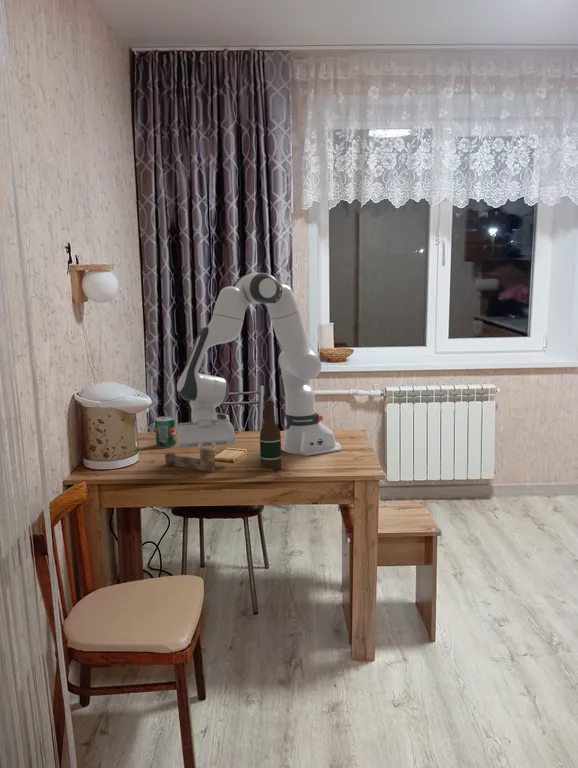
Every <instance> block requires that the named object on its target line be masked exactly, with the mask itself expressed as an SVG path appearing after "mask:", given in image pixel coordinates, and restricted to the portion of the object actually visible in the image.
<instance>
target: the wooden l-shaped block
mask: <svg viewBox="0 0 578 768" xmlns="http://www.w3.org/2000/svg"><path fill="white" fill-rule="evenodd" d="M215 456H216V455H215V451H214V449H212V448H205V447H202V448H201V449H200V451H199V458H195V457H189V456H183V455H176V452H166V453H164V460H165V461H164V462H165V467H178V468H179V467H180V468H184V469H185V468H186V469H191V470H199V471H203V472H210V473H213V472H216V460H215V458H216V457H215Z"/></svg>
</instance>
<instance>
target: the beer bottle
mask: <svg viewBox="0 0 578 768" xmlns="http://www.w3.org/2000/svg"><path fill="white" fill-rule="evenodd" d="M263 405H264V408H265V409H264V423H263V426H262V428H261V429H260V432H259V433H260V434H259V450H260V451H259V455H260V468H264V469H272V471H273V472H274V473H276V472H279V471H281V470H282V438H281V431H280V428H279V426H278V425H277V423H276V416H275V401H274V400H273V401H272V400H269V401H265V402H264V404H263Z"/></svg>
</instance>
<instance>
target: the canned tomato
mask: <svg viewBox="0 0 578 768" xmlns="http://www.w3.org/2000/svg"><path fill="white" fill-rule="evenodd" d="M175 428H176V419H175V416H171V415H169V416H167V415H166V416H165V415H164V416H158V417H154V429H155V431H154V432H155V446H156V448H159V449H168V448H173V447H175V446H177V438H176V435H177V433H176V429H175Z"/></svg>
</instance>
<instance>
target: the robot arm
mask: <svg viewBox="0 0 578 768" xmlns="http://www.w3.org/2000/svg"><path fill="white" fill-rule="evenodd" d="M260 304H263V305H265V307H266V308H267V310H268V313H269V317H270V320H271V323H272V327H273V330H274V333H275V337H276V339H277V341H278V343H279V344H280V346H281V348H282V351H280V354H279V356H278V364H279V367H280V372H281V378H282V384H283V388H284V397H285V413H284V428H285V434H284V442H283V444H282V445H283V446H282V447H281V450H282V451H283V452H285V453H288V454H293V455H294V454H295V455H302V456H305V457H306V456H313V455H314V456H315V455H320V454H328V453H333V452H340V451H341V450H342V445H341V444H340V442H338V441H336V438H335V434H334V432H333V431H332V430H331V429H330V428H329V427H327V426H326V425H325V424H323V423H322V421H323V420H324V415H322V414H319V413H317V412H316V410H315V408H316V407H315V405H316V404H315V399H316V398H315V391H314V387H313V385H312V381H311V380H314V379H316V378H317V377H318V376H319V375H320V372H321V371H322V362H321V359H320V358H319V357H318V355H317V353H316V350H315V348H314V345H313V344H312V341H311V340H310V338H309V336H308V333H307V329H306V328H305V324H304V320H303V317H302V314H301V311H300V307H299V304H298V301H297V299H296V296H295V294H294V292H293V290H292V288H291V287H290V286H289V285H287V284H284V283H283V284H282V283H280V282H278V280H277V279H276V278H275V276H273V275H272V274H269V273H267V272H252V273H248V274H244V275H242V276H241V277H238V279H237V280H236V281H235V283H234V284H233V285H232V286H231V285H230V286H225V287H223V288H222V289H221V290H220V291H219V294H218V296H217V298H216V302H215V305H214V308H213V311H212V317H211V319H210V321H209V322H208V324H207V325H206V326H205V327H202V328H201V329H199V332H198V334H197V336H196V338H195V340H194V343H193V345H192V348H191V350H190V353H189V355H188V359H187V361H186V364H185V365H184V368H183V370H182V372H181V373H180V376H179V378H178V380H177V383H176V392H177V393H178V395H179V396H180V398H181V399H182V400H183V401H190V402H189V403H190V408H191V421H190V422H188V421H187V422H179V423H178V424H177V425H175V434H176V435H177V439H176V442H177V446H178V448H179V449H185V448H186V449H187V448H197V450H198V451H199V452H200V449H201V448H203V447H211V449H214V452H215V450H216V448H217V446H225V445H226V446H227V445H234V444H235V442H236V433H235V430H234V429H235V428H234V426H233V424H232V423H231V422H230V416H229V415H228V414H226V413H225V414H224V413H220V412H217V411H216V408H217V407H218V408H219V406H221V405H223V403H225V402H226V401H227V399H229V397H230V386H229V383H228V381H227V380H226V378H224V377H220V376H216V375H208V374H204V373H199V370H200V368H201V365H202V363H203V360H204V357H205V354H206V352H207V351H208V349H210V348H211V347H214V346H216V345H222V344H228V343H230V342H233V341H235V340H236V339H237V338H238V337H239V336H240V334H241V332H242V329H243V326H244V325H243V324H244V320H245V316H246V315H245V313H246V311H247V309H248V307H249V306H250V305H260Z"/></svg>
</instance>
